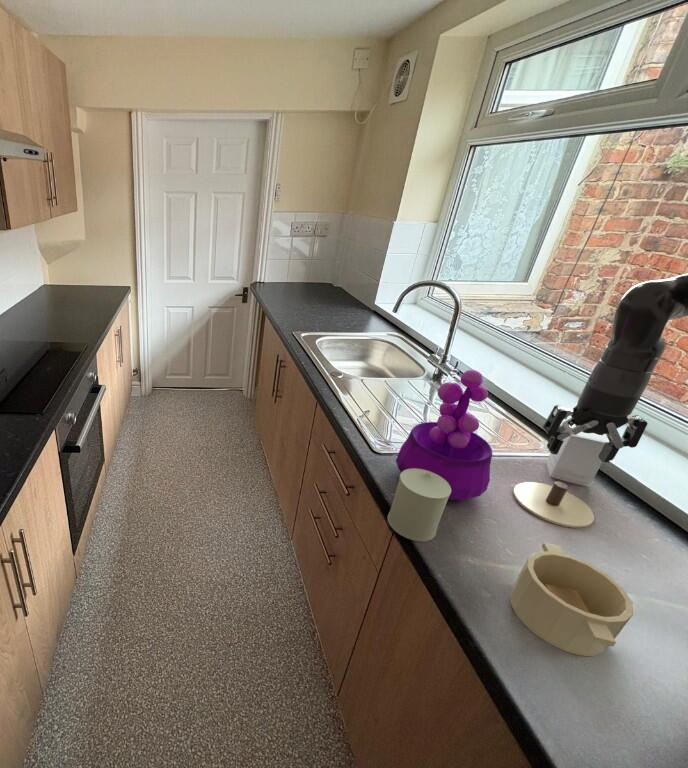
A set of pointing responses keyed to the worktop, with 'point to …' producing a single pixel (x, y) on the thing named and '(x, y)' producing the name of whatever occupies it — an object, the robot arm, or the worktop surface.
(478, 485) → the decorative plant
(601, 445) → the white packaging box
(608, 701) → the worktop surface
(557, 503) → the lid
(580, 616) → the pot
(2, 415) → the worktop surface
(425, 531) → the can
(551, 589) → the block
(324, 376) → the worktop surface
